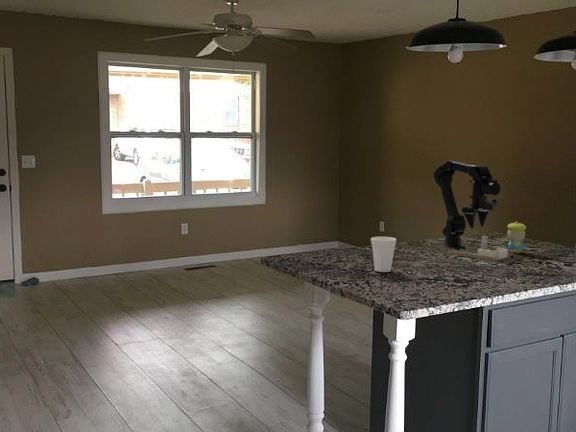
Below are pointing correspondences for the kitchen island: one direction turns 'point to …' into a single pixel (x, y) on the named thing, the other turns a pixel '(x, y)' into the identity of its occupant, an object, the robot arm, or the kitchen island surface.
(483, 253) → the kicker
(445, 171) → the robot arm
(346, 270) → the kitchen island surface
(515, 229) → the toy
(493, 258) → the pitch
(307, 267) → the kitchen island surface
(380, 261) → the cup
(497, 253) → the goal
